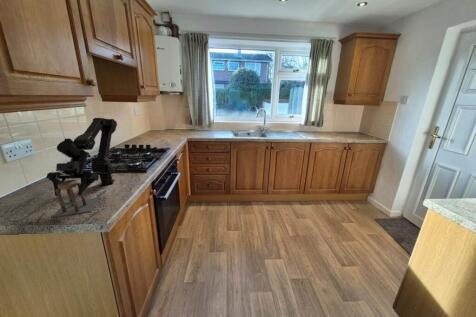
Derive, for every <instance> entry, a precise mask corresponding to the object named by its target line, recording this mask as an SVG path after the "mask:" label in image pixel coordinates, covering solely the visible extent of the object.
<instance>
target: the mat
mask: <svg viewBox="0 0 476 317" xmlns="http://www.w3.org/2000/svg"><path fill="white" fill-rule="evenodd" d="M99 200H100V197H94V198H85V201H86V204H87V205H85V206H83V203H82V199H78V200H76V202H77V206H78V209H79V212H76V211H75V208H74V206H71V205H65V208H66V211H67V212H65V213H63V211H62V208H61V207H60V208H58V210H57V211H56V212H55V213H54V214H53V215H52V218H58V217H65V216H71V215H79V214H85V213H91V212H93V209H94V208H95V207H96V204H97V203H98V202H99ZM67 202H68V201H65V202H64V203H67Z"/></svg>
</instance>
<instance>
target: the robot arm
mask: <svg viewBox="0 0 476 317" xmlns="http://www.w3.org/2000/svg"><path fill="white" fill-rule="evenodd" d="M117 126H118V123H117V121H116V120H115V119H114V118H104V117H94V118H92V122H90V124H89V126H88V127H87V129H86V130H85V131H84V133H82V134H80V135H78V136H76V138H74V140H73V139H71V138H64V140H62V141H61V142H59V143H58V144H57V145H56V150H57V151H58V152H59V153H61V154H62V155H64V156H65V157H67V158H70V161H66V162H64V163H62V162H61V163H60V162H59V163H56V166H55V167H56V171H50V172H47V174H46V177H45V179H47V180H48V181H50V182H52V184H53V190H54V195H55V197H58V196H57V193H56V189H59V188H58V184H59V183H61V182H64V181H67V180H75V179H80V187H79V189H78V192H77V195H78V196H80V195H81V194H82V193H83V194H84V192H85V191H86V190H87V189H88V188H89V186H91V185H92V184H93V183H95V182H97V181H99V180H100V183H99V184H98V186H99V187H102V186H104V187H105V186H111V185H113V184H114V183H115V181H116V179H115V178H114V179H113V174H115V171H116V169H115V167H114V166H113V165H112V163H111V160H110V158H109V153H110V149H111V148H110V147H111V140H112V135H113V134H114V133H115V132H116V130H117ZM99 132H101V135H100V140H99V145H98V153H97V156H96V157H94V158H92V161H91V165H90V166H91V167H90V168H91V170H87V168H88V167H87V166H86V164H87V160H88V158H91V157H92V156H91V153H89V150H90V151H91V150H93V149H94V146H95V144H96V140H95V139H96V138H97V136H98V134H99ZM61 172H62V173H61ZM59 190H60V189H59ZM61 191H62V190H60V193H61Z"/></svg>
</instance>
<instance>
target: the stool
mask: <svg viewBox="0 0 476 317" xmlns="http://www.w3.org/2000/svg"><path fill="white" fill-rule="evenodd" d="M80 184H81V182H78V181H77V180H75V179H67V180H65V181H64V182H61V183H59V184H58V188H59V189H60V190H61V191H65V190H66V193H67V196H68V200H69V201H66V202H67V203H65V202H64V199H63V197H62V194H61V192H60V190H59V189H56V193H57V196H56V197H57V199H58V201H59V204H60V208H62V211H63V213H65V212H67V211H66V208H65V205H71V206H74V208H75V211H76V212H79V209H78V206H77V202H76V201H77V200H76V197H75V193H74V190H73V188H75V187H77V189H78V190H79V187H80ZM79 196H80V200H82V203H83V206H85V205H87V204H86V201H85V199H86V198H85V194H84V192H83V193H82V194H81V195H79Z"/></svg>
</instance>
